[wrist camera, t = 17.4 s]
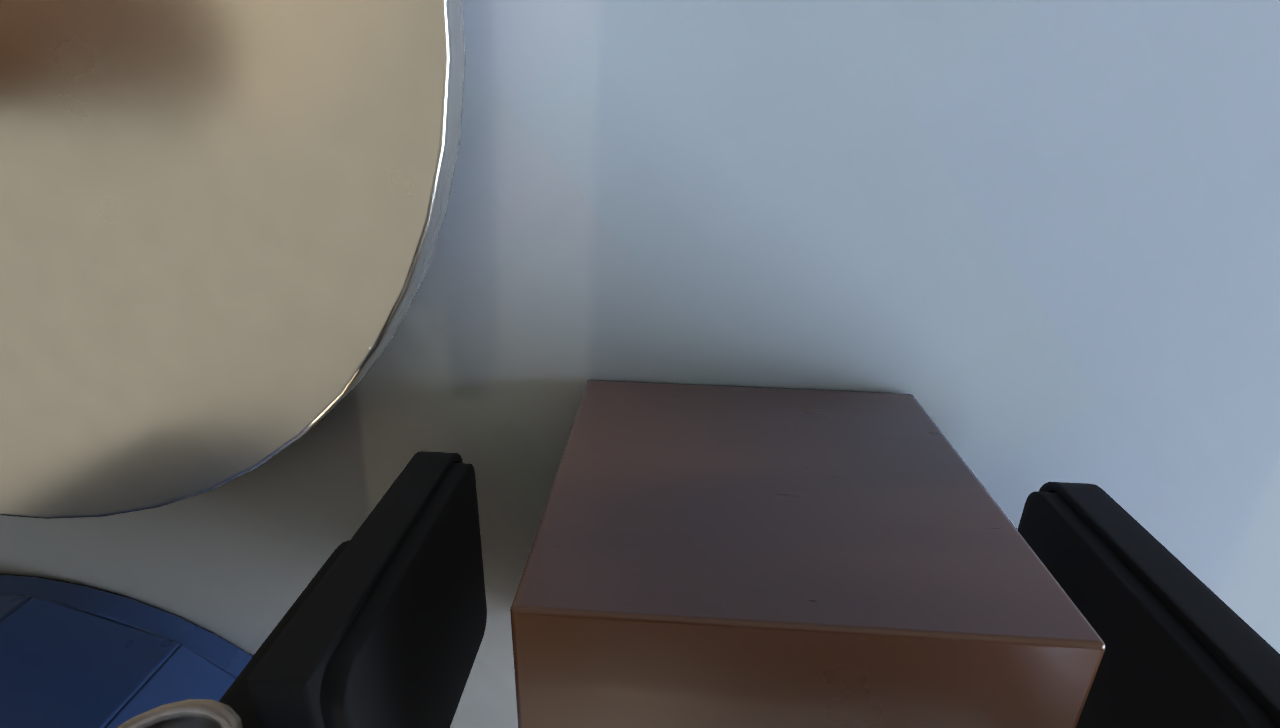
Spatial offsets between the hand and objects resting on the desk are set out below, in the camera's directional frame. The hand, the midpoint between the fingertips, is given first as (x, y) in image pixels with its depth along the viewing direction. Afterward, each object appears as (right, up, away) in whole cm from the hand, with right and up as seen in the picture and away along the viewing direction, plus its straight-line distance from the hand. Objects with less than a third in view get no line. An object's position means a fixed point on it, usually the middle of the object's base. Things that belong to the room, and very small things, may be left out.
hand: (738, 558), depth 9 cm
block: (0, 0, +1) cm, 1 cm away
